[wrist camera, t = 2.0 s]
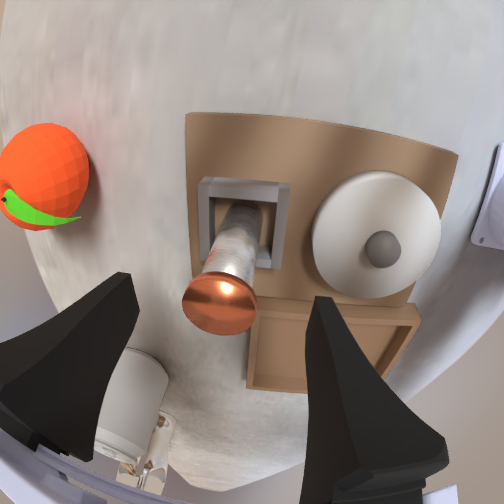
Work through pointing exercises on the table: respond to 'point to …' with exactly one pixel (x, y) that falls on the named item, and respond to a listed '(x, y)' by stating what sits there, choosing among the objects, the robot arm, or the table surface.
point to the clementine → (43, 177)
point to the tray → (293, 340)
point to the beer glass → (151, 459)
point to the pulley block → (319, 203)
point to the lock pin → (228, 275)
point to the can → (130, 406)
